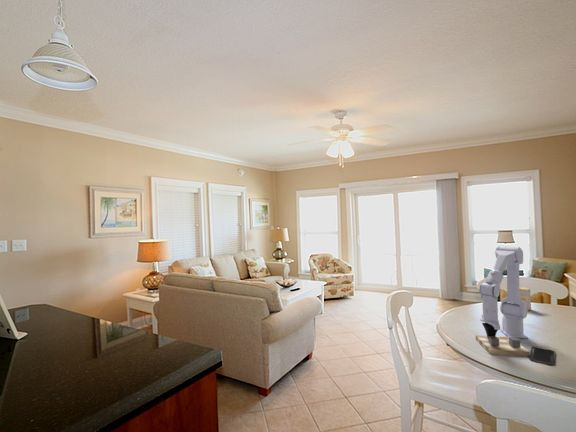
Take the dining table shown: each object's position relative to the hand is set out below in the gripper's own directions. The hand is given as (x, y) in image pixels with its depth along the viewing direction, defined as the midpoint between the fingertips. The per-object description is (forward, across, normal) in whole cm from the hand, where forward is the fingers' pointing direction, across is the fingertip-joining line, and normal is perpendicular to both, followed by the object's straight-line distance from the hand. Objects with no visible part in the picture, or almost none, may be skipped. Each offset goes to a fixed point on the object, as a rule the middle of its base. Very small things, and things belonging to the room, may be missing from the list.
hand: (491, 340), depth 138 cm
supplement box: (+3, -64, +41) cm, 76 cm away
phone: (+4, +7, +17) cm, 18 cm away
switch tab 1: (+1, +3, 0) cm, 3 cm away
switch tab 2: (+1, +3, +8) cm, 9 cm away
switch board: (+3, 0, +4) cm, 5 cm away
